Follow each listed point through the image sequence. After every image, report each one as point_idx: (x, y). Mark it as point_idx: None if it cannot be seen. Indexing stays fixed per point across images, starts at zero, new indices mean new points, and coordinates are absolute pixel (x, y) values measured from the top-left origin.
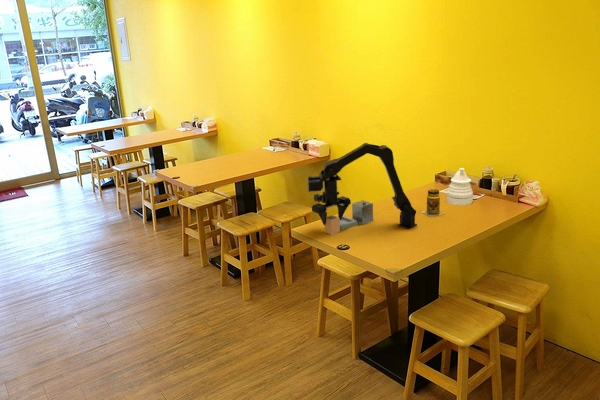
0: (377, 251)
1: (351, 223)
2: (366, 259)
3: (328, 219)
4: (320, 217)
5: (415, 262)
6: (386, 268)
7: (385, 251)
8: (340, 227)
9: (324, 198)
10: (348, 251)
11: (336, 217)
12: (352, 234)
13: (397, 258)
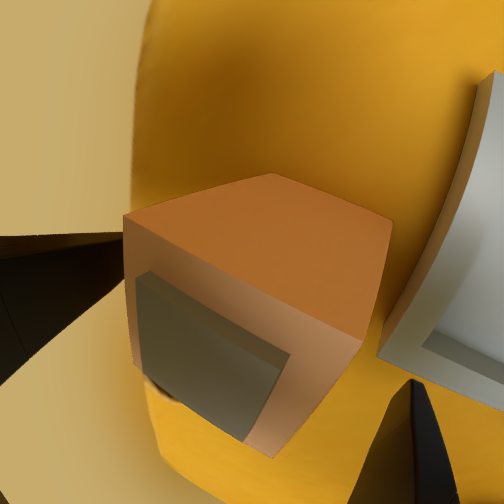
0: (215, 466)
1: (495, 401)
2: (159, 433)
3: (129, 322)
4: (23, 242)
5: (220, 499)
6: (162, 456)
7: (229, 480)
8: (384, 335)
9: None
10: (154, 395)
11: (239, 434)
12: (330, 413)
13: (213, 485)
